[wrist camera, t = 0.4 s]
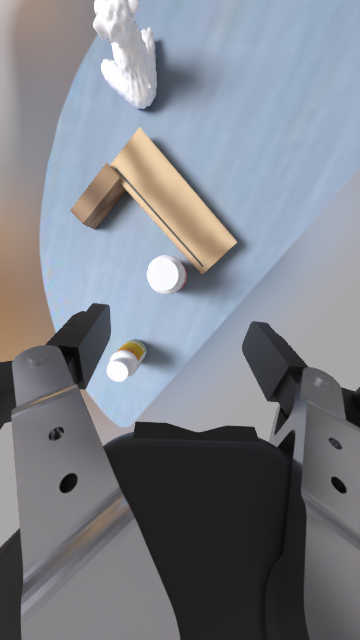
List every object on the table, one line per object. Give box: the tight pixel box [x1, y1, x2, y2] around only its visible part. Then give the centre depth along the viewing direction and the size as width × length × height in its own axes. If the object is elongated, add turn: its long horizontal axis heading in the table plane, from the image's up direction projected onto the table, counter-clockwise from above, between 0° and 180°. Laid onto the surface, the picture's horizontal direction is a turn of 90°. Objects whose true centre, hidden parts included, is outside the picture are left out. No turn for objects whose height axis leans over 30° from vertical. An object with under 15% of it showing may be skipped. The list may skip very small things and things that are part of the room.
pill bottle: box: [147, 255, 187, 294], centre depth 32 cm, size 6×6×11 cm
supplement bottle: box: [107, 340, 146, 382], centre depth 37 cm, size 5×5×10 cm
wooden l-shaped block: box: [70, 127, 237, 275], centre depth 33 cm, size 18×24×4 cm
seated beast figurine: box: [93, 0, 157, 109], centre depth 25 cm, size 10×9×12 cm
